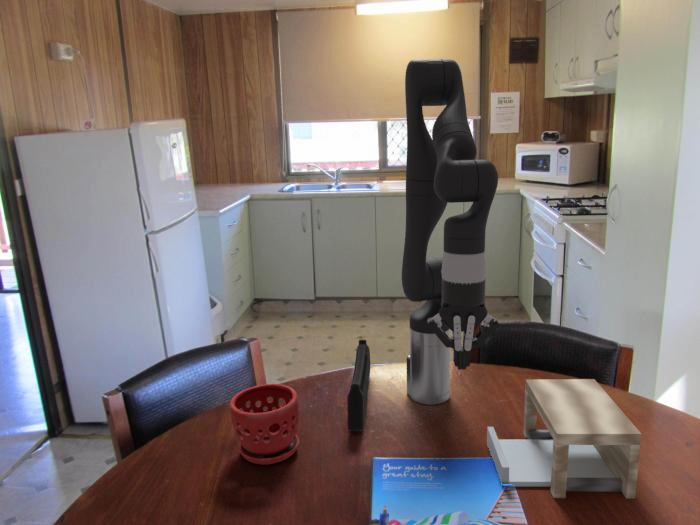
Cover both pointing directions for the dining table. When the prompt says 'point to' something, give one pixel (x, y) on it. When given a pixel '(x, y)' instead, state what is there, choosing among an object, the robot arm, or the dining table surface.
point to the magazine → (359, 388)
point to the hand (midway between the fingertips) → (461, 367)
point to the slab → (541, 461)
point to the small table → (583, 432)
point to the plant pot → (266, 423)
